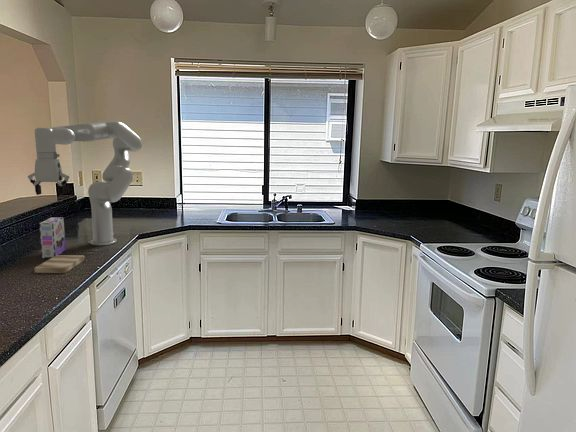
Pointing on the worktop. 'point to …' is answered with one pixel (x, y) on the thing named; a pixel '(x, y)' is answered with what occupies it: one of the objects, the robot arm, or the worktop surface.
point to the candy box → (52, 237)
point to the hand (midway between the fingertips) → (50, 194)
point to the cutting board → (59, 264)
